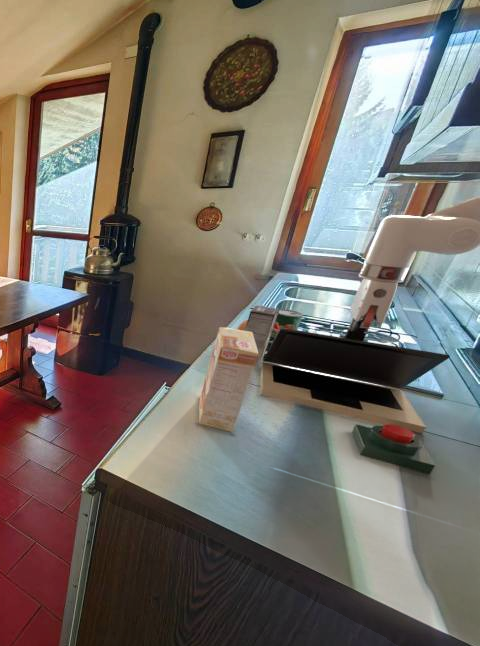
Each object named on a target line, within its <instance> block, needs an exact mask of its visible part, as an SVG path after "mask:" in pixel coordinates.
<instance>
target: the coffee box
mask: <svg viewBox="0 0 480 646" xmlns="http://www.w3.org/2000/svg"><path fill="white" fill-rule="evenodd" d="M280 309H281V308H276V307H270V306H263V305H254V307H253V308H252V309H251V310H250V312H249V315H248V318H247V320H248V321H247V324H246V328H245V331H249V332H252V333H253V336H254V339H255V343H256V346H257V350H258V354H259V355H258V357H257V360H256V363H255V365H259V364H260V363H261V361H263V359H264V357H265V355H266V350H267V348H268V345H269V343H268V342H269V339H270V336H271V333H272V330H273V327H274V324H275V321H276V318H277V315H278V313H279V310H280Z"/></svg>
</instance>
